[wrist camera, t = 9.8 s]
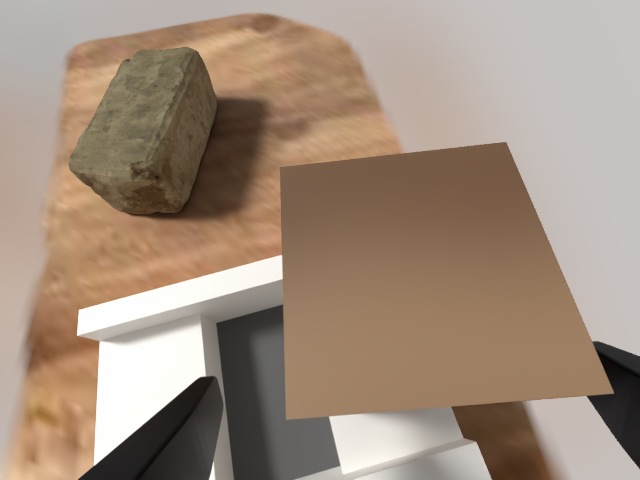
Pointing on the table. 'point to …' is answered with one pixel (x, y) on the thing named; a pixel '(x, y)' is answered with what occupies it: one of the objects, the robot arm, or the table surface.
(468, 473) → the walled channel
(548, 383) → the walnut block
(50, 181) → the table surface
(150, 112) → the stone block
